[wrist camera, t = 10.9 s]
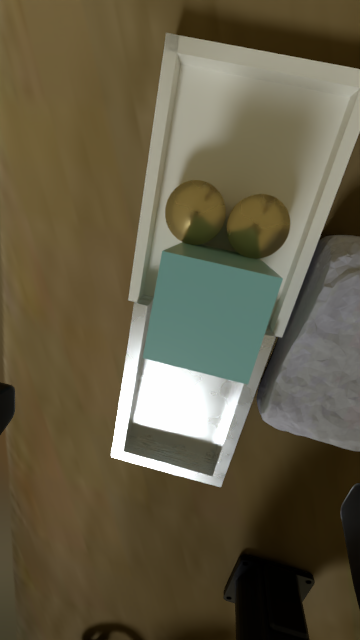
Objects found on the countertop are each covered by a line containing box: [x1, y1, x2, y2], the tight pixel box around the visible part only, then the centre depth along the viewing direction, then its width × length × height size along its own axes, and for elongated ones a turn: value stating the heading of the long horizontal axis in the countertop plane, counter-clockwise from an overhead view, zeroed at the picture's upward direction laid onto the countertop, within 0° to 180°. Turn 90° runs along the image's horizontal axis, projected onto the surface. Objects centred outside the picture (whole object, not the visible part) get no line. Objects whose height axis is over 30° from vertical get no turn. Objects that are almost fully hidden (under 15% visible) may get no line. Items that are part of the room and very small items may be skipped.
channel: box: [111, 294, 276, 487], centre depth 20 cm, size 12×8×2 cm
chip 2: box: [227, 194, 290, 259], centre depth 15 cm, size 3×3×2 cm
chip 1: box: [165, 180, 226, 245], centre depth 15 cm, size 3×3×2 cm
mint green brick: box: [143, 242, 283, 385], centre depth 14 cm, size 4×4×7 cm
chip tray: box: [128, 33, 360, 338], centre depth 15 cm, size 12×9×1 cm
